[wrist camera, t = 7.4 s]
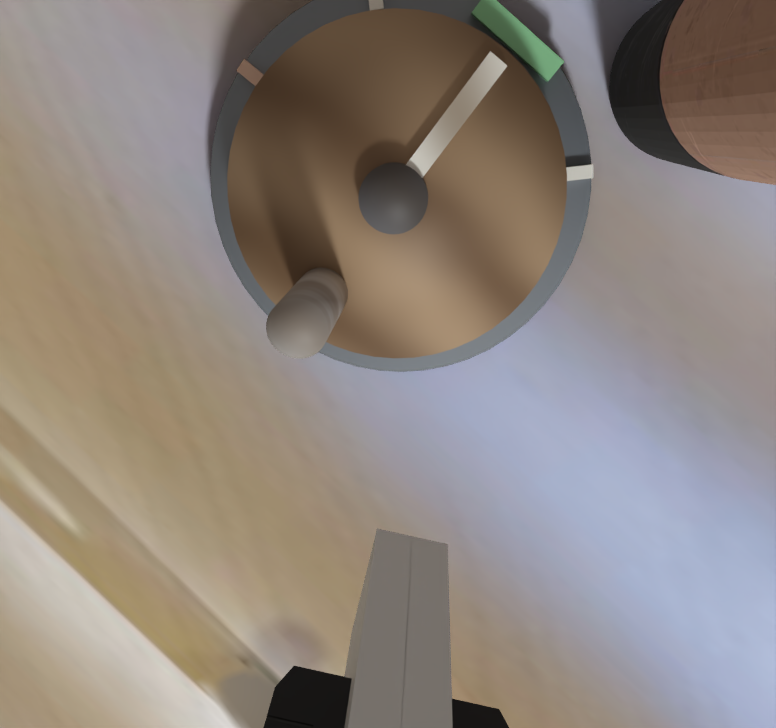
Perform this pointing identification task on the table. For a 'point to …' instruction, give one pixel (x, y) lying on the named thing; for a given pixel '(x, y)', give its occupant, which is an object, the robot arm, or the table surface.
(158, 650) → the table surface
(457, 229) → the dial
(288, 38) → the gauge plate
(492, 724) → the robot arm
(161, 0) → the table surface
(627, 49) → the travel mug
